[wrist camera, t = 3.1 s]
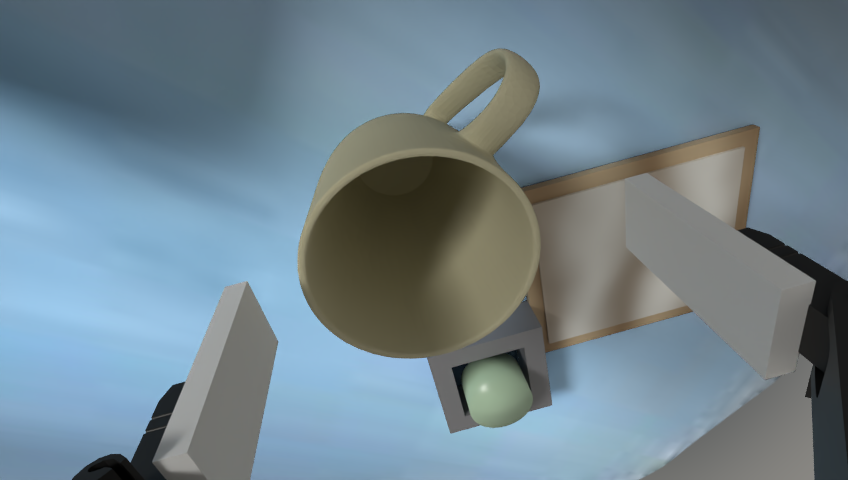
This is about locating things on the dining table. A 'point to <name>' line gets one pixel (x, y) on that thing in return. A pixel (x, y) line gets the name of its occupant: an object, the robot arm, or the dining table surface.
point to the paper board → (606, 235)
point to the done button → (496, 391)
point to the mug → (425, 223)
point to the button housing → (511, 335)
